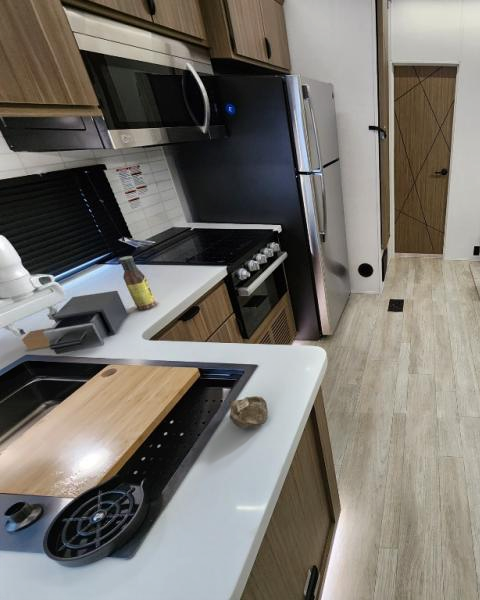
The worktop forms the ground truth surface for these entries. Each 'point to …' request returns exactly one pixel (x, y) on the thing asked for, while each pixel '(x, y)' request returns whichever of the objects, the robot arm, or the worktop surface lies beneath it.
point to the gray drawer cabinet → (96, 308)
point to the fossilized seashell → (249, 412)
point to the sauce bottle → (137, 284)
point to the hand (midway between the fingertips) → (38, 326)
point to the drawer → (77, 333)
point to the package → (36, 339)
